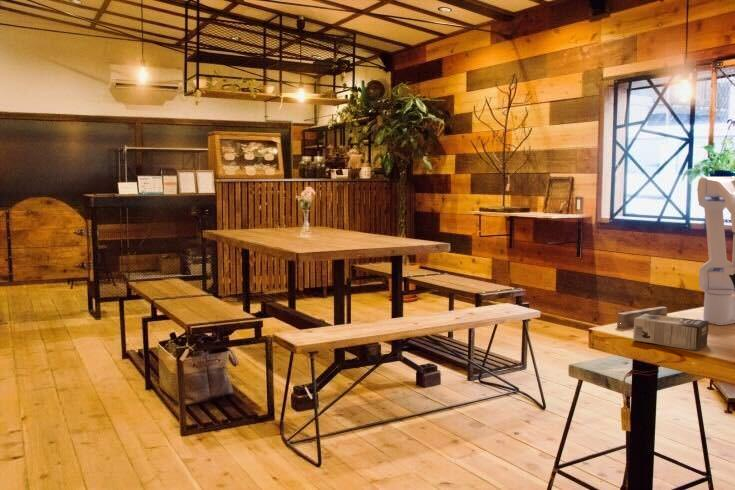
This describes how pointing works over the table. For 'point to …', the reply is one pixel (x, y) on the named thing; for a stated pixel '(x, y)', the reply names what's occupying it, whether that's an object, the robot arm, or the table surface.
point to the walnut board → (628, 317)
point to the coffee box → (671, 331)
